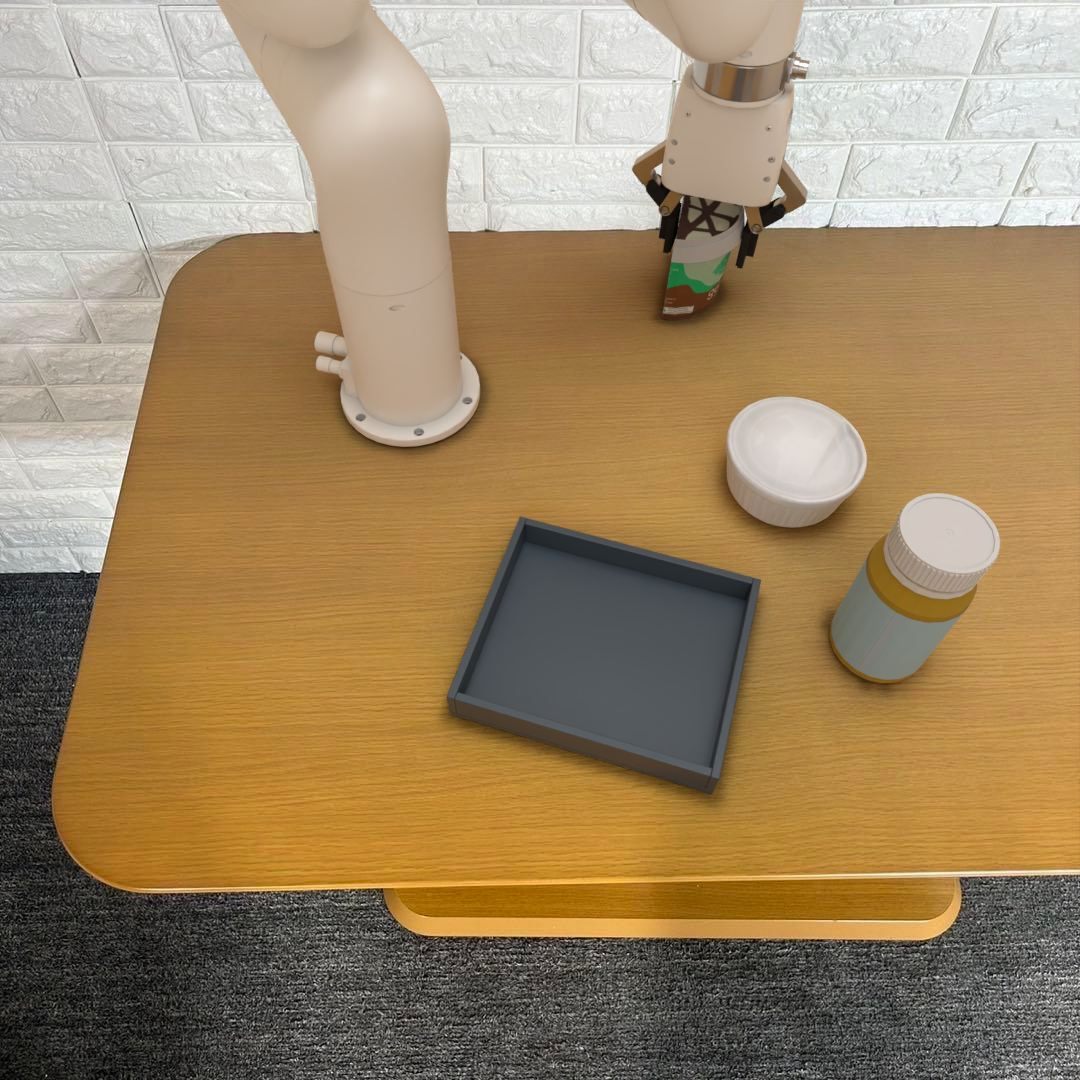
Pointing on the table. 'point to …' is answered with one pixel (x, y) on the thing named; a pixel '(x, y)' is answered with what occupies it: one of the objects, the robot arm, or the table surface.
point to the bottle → (913, 587)
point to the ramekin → (792, 460)
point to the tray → (609, 653)
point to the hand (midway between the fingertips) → (705, 250)
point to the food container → (701, 254)
